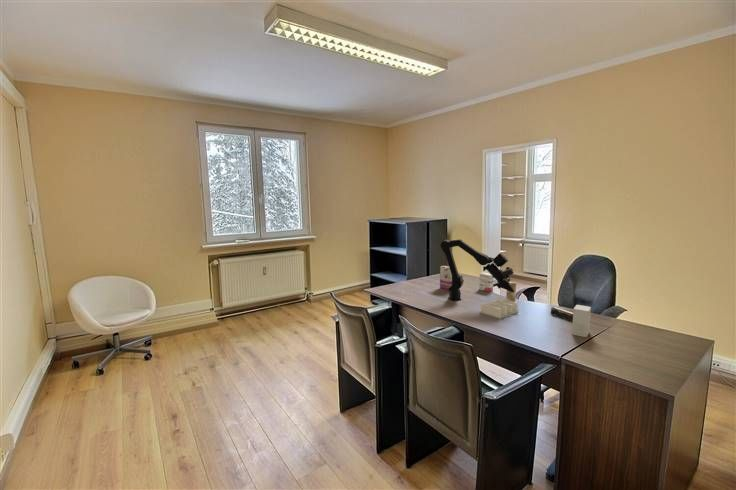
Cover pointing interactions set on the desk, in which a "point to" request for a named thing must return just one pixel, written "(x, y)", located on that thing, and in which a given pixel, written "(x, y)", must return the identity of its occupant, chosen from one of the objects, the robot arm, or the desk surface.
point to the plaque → (510, 295)
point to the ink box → (485, 282)
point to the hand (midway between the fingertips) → (513, 291)
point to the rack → (499, 308)
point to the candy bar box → (445, 277)
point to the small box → (581, 320)
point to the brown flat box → (562, 313)
